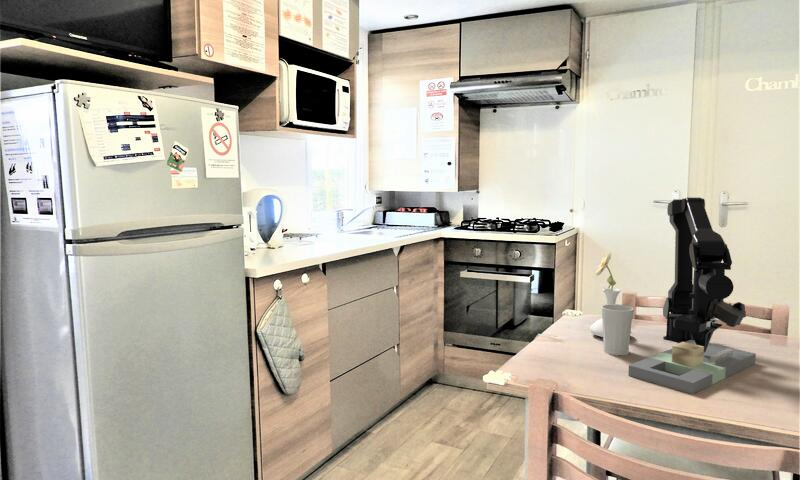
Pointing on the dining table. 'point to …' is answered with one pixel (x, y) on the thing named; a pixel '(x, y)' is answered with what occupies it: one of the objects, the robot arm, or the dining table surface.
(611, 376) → the dining table surface
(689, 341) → the channel rails
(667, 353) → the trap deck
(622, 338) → the cup
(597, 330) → the flower in vase
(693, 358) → the beech block
